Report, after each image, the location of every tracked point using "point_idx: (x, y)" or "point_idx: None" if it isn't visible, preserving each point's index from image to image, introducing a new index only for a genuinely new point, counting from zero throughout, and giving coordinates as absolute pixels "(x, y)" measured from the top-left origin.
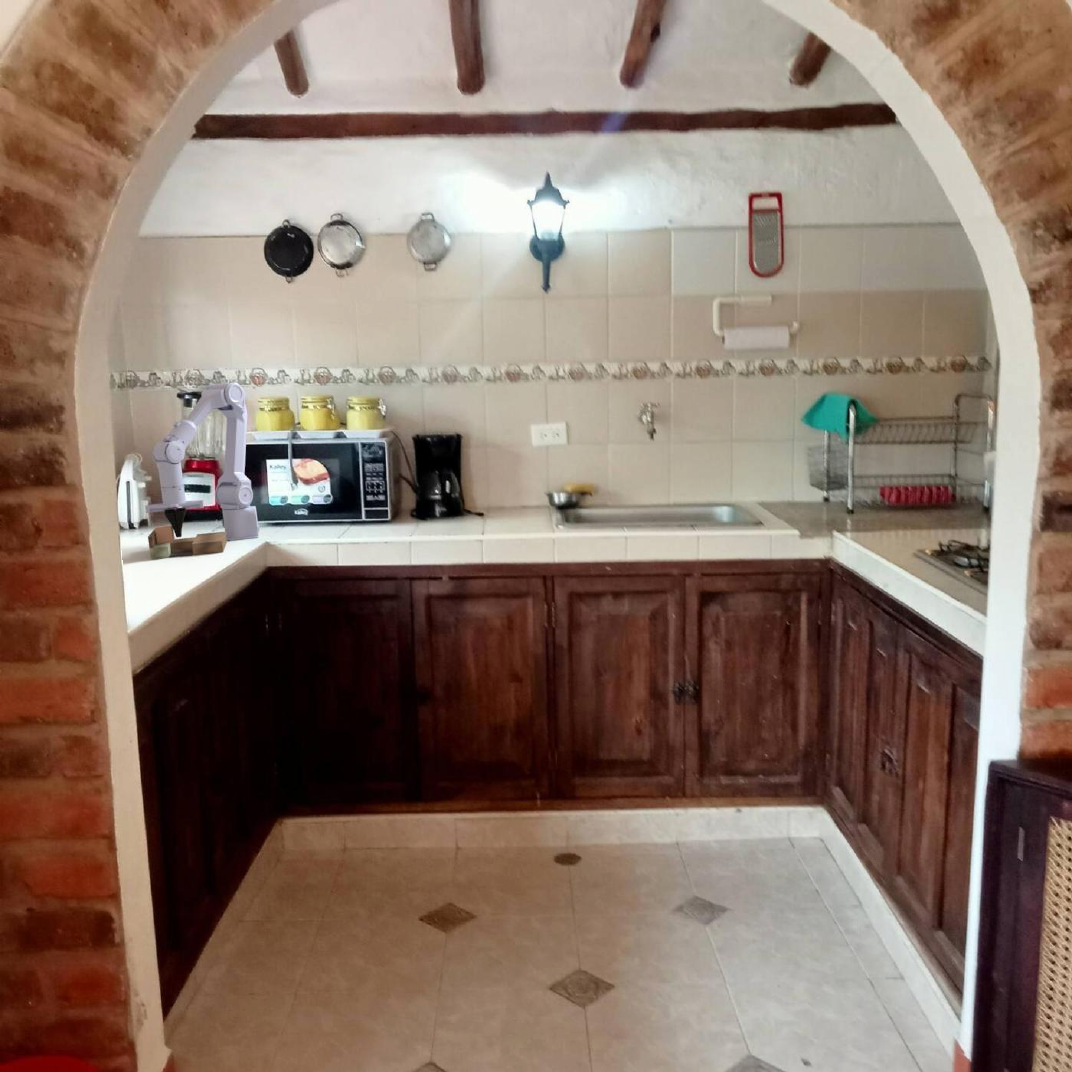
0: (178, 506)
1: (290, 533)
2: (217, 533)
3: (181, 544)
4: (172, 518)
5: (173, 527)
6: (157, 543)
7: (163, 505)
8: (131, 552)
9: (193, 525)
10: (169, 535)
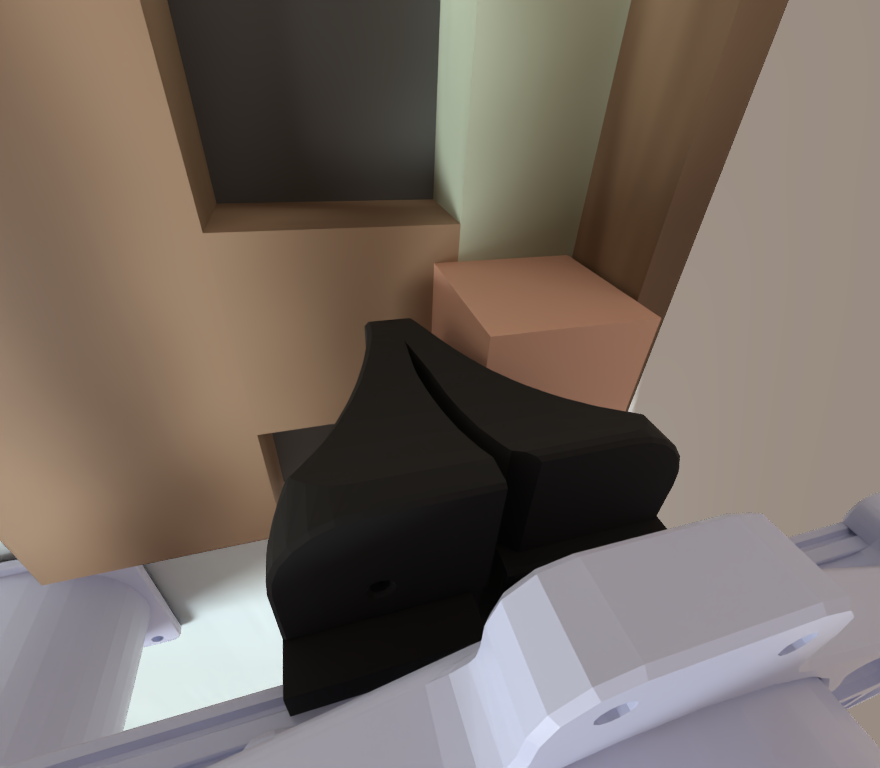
0: (447, 664)
1: None
2: (83, 529)
3: (345, 219)
4: (510, 414)
5: (460, 357)
6: (565, 257)
7: (873, 633)
8: (632, 409)
9: None
10: (483, 289)
